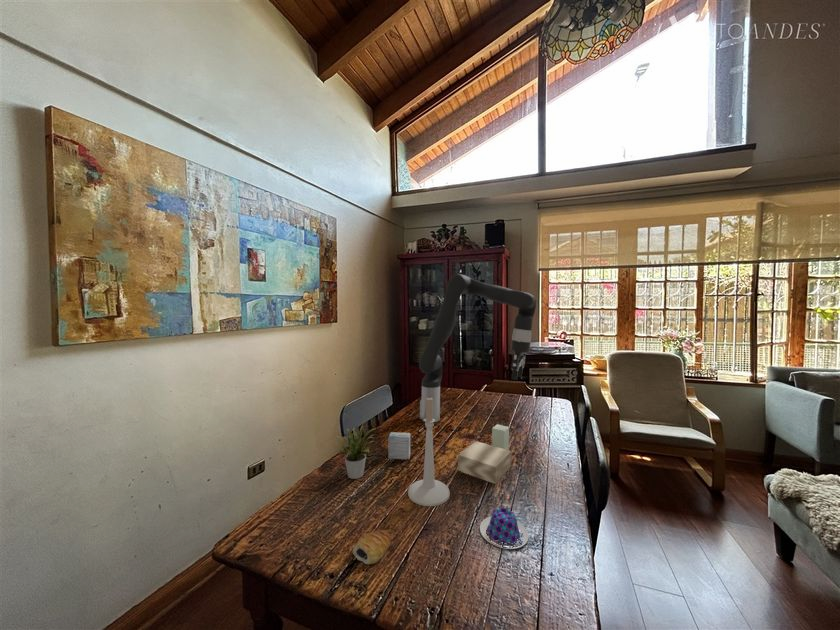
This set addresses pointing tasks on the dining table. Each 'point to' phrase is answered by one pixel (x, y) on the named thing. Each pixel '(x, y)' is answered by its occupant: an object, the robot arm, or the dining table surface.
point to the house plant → (356, 453)
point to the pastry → (372, 546)
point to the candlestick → (429, 471)
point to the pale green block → (500, 436)
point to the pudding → (503, 527)
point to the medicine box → (399, 445)
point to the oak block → (484, 461)
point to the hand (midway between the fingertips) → (516, 378)
